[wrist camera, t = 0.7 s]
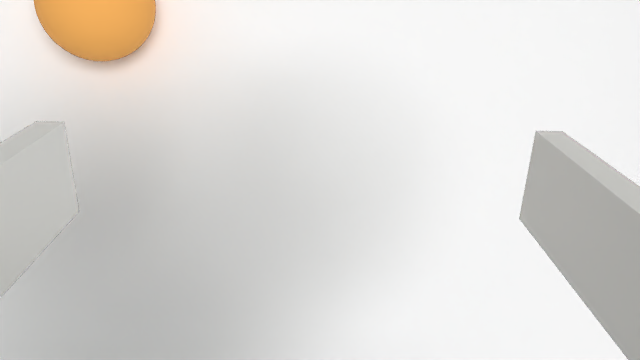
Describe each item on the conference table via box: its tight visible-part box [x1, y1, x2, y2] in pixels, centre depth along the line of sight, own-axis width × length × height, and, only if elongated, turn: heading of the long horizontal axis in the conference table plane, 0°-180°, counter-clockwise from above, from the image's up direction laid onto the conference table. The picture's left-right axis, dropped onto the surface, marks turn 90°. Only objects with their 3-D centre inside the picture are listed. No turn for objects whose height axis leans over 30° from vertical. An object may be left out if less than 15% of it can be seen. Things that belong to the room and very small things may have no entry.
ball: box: [34, 0, 156, 61], centre depth 29 cm, size 6×6×6 cm
